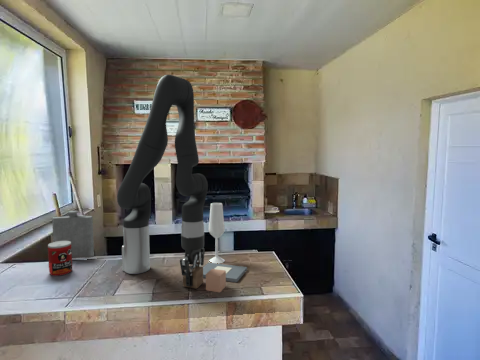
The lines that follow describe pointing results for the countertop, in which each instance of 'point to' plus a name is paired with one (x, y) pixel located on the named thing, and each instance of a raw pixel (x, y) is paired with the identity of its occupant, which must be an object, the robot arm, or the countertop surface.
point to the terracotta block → (215, 280)
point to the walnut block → (195, 277)
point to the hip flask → (75, 233)
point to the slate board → (231, 271)
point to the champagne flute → (216, 227)
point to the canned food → (60, 257)
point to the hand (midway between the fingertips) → (193, 282)
